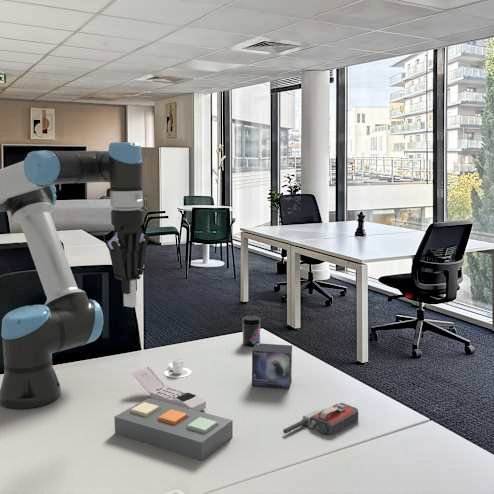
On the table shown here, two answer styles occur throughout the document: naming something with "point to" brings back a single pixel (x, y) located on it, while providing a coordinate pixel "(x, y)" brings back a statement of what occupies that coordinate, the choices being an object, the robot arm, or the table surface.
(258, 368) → the small box
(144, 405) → the sand button
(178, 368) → the white candle holder
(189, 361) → the table surface
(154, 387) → the mobile phone
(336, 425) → the walkie-talkie
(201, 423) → the sage button
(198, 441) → the button console
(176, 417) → the orange button
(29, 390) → the robot arm
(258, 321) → the supplement container
